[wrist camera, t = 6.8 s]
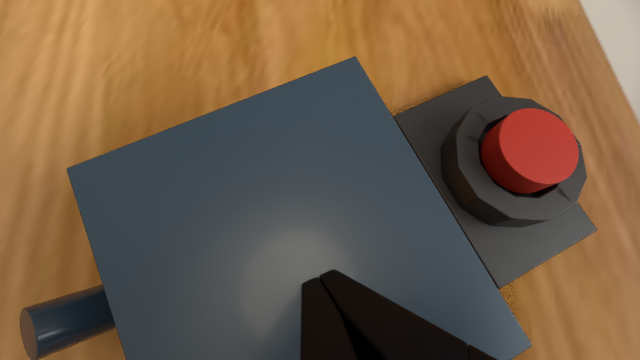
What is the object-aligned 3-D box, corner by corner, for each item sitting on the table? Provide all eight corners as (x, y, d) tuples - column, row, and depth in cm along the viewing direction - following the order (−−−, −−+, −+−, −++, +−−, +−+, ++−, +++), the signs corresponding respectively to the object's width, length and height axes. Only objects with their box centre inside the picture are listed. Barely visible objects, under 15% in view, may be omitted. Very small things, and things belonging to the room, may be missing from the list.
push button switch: (589, 229, 20) (638, 219, 17) (488, 289, 19) (524, 289, 16) (484, 81, 23) (511, 51, 20) (388, 123, 21) (403, 97, 18)
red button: (568, 174, 18) (595, 163, 16) (509, 206, 17) (531, 197, 16) (523, 113, 19) (545, 96, 17) (465, 140, 18) (483, 126, 17)
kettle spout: (78, 309, 16) (-14, 319, 11) (182, 260, 17) (138, 250, 12) (90, 348, 15) (-1, 375, 10) (195, 295, 16) (155, 299, 11)
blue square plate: (77, 174, 12) (65, 168, 12) (352, 65, 15) (355, 55, 14) (198, 550, 10) (191, 570, 9) (520, 342, 12) (533, 345, 11)
